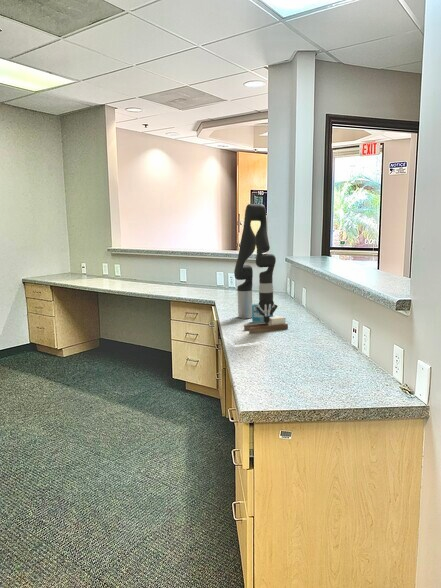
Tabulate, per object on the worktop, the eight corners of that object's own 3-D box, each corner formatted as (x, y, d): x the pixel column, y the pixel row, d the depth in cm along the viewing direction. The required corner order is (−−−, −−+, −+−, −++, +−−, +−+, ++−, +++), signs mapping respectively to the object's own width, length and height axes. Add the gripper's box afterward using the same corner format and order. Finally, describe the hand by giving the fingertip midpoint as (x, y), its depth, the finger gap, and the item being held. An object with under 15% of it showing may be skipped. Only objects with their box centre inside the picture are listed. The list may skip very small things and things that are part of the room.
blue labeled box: (252, 325, 247) (252, 304, 245) (252, 323, 251) (251, 303, 249) (273, 324, 246) (272, 304, 245) (272, 322, 251) (272, 302, 249)
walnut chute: (243, 331, 231) (243, 324, 231) (280, 327, 238) (280, 320, 238) (250, 336, 222) (250, 328, 221) (288, 331, 229) (288, 324, 228)
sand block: (268, 327, 233) (268, 317, 232) (281, 326, 235) (281, 315, 235) (272, 329, 228) (272, 319, 227) (285, 328, 231) (285, 317, 230)
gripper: (274, 289, 232) (274, 320, 235) (252, 291, 228) (252, 322, 231) (280, 291, 225) (280, 323, 228) (257, 293, 221) (258, 325, 224)
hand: (266, 322), depth 230 cm, fingers closed
